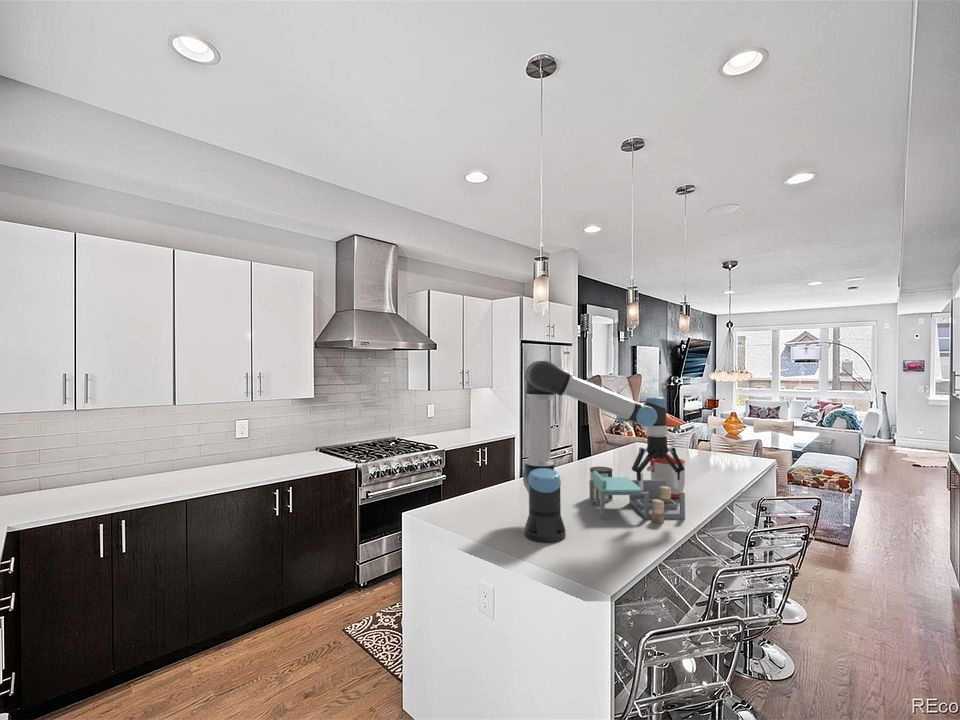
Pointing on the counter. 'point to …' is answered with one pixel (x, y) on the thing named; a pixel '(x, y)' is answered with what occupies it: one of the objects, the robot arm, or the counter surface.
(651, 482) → the frame
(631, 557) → the counter surface
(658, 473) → the citrus juicer
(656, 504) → the tan rounded cylinder
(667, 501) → the tan wooden cylinder
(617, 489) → the lid
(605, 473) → the coffee can
